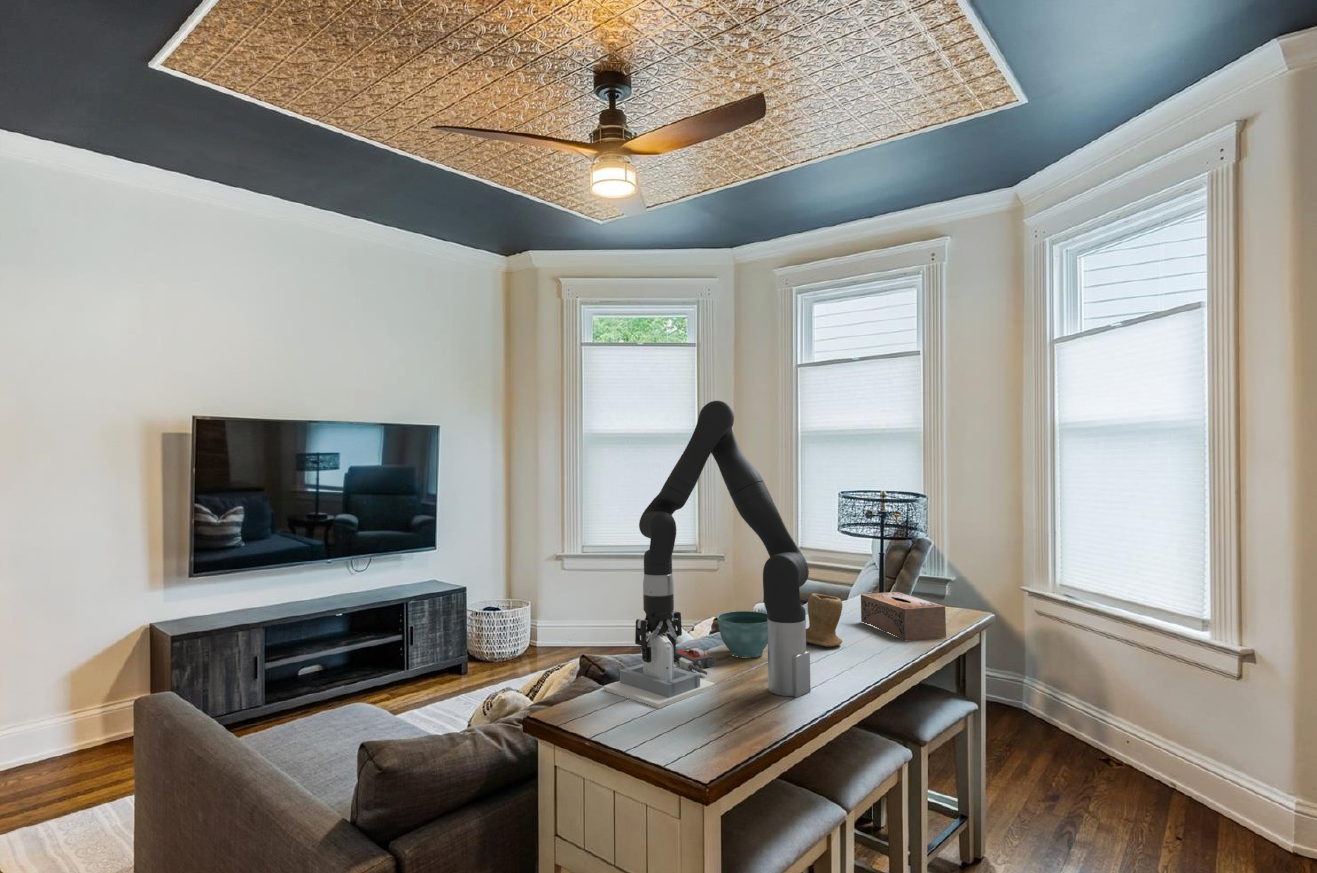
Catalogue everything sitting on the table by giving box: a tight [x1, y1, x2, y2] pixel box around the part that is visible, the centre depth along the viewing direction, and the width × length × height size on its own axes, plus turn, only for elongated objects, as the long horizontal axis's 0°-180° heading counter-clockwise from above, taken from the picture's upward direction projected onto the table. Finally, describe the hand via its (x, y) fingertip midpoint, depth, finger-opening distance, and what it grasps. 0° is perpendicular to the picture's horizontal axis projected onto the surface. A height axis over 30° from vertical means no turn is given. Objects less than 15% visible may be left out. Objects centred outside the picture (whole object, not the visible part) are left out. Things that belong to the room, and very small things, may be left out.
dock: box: [602, 663, 716, 709], centre depth 172 cm, size 19×20×4 cm
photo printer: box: [642, 632, 675, 681], centre depth 172 cm, size 10×4×12 cm, turn 29°
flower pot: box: [716, 610, 768, 659], centre depth 202 cm, size 16×16×11 cm
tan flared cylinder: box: [806, 592, 843, 647], centre depth 213 cm, size 15×12×15 cm
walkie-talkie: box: [674, 646, 714, 675], centre depth 191 cm, size 9×4×20 cm
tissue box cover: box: [860, 591, 947, 641], centre depth 229 cm, size 26×14×10 cm, turn 14°
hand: (659, 658), depth 171 cm, fingers open, 8 cm apart
